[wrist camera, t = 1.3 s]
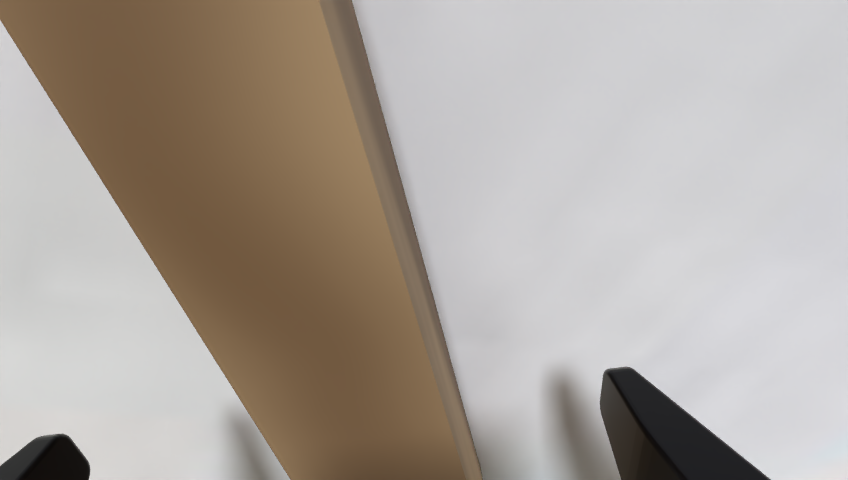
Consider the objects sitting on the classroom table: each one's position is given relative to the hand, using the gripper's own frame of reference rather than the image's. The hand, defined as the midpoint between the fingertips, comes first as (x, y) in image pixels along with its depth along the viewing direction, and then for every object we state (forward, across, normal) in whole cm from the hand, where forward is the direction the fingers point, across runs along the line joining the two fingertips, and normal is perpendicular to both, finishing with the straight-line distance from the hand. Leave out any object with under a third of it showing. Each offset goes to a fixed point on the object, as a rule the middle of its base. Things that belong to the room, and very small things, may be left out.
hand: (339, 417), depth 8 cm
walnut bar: (+5, 0, 0) cm, 5 cm away
